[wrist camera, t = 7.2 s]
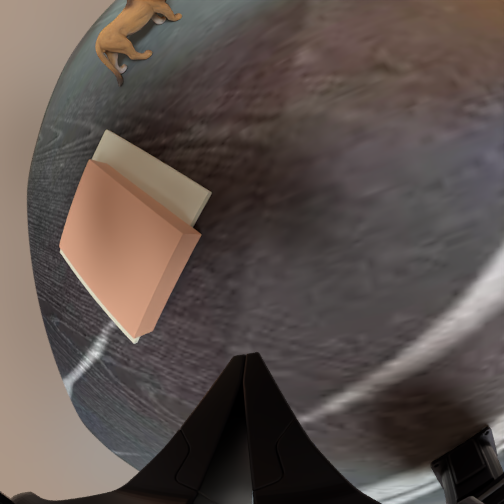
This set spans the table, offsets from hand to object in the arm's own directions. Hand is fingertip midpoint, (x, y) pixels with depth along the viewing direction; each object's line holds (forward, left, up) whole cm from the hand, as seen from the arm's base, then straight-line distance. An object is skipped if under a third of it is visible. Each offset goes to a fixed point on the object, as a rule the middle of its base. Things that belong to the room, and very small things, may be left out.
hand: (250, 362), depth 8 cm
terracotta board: (+6, +8, -9) cm, 13 cm away
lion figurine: (+33, -5, -11) cm, 35 cm away
